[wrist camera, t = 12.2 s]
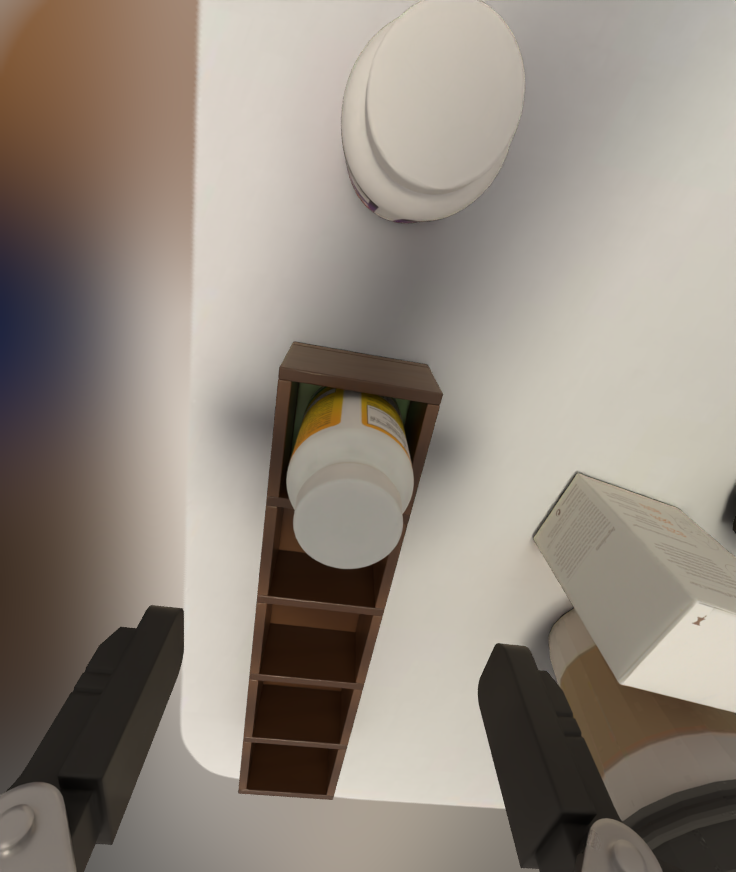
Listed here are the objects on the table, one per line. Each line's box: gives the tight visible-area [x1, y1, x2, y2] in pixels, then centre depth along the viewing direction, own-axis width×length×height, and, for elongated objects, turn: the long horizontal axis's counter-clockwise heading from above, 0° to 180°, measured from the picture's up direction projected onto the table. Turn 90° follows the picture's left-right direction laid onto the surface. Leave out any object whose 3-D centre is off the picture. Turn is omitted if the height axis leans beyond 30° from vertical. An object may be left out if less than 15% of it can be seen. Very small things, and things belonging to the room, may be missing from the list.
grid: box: [238, 342, 443, 800], centre depth 29 cm, size 35×7×5 cm, turn 170°
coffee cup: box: [548, 608, 736, 872], centre depth 27 cm, size 11×11×15 cm
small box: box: [534, 473, 736, 713], centre depth 24 cm, size 8×6×10 cm
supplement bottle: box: [286, 386, 414, 569], centre depth 20 cm, size 5×5×10 cm
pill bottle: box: [341, 0, 525, 223], centre depth 15 cm, size 5×5×10 cm
